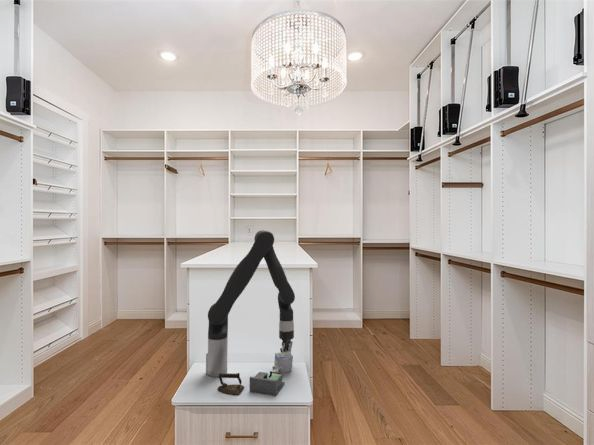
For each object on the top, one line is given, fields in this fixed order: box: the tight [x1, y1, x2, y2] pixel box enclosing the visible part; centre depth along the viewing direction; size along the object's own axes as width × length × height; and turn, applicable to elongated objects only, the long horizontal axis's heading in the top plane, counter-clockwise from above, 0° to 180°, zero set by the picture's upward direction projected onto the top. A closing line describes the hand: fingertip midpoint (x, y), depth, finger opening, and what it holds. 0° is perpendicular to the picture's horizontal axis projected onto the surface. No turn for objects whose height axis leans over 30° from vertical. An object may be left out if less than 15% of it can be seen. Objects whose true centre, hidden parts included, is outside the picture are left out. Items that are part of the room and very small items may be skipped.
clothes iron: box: [216, 372, 245, 397], centre depth 143 cm, size 7×11×10 cm, turn 81°
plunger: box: [268, 365, 283, 379], centre depth 153 cm, size 7×9×4 cm
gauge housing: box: [249, 371, 286, 397], centre depth 146 cm, size 12×11×6 cm
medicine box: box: [273, 351, 294, 374], centre depth 163 cm, size 8×4×9 cm, turn 111°
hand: (286, 363), depth 169 cm, fingers closed
